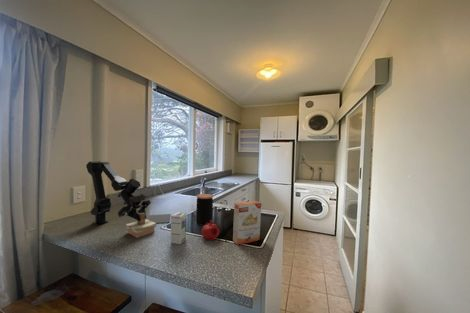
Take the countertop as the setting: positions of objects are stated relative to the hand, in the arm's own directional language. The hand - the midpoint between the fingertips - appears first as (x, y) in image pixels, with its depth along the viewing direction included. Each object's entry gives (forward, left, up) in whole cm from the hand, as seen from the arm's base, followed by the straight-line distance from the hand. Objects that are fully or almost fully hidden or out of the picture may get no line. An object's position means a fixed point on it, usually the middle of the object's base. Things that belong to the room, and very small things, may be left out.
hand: (143, 219), depth 112 cm
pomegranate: (+34, +20, -8) cm, 40 cm away
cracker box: (+52, +29, -8) cm, 60 cm away
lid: (-1, 0, -4) cm, 4 cm away
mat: (-12, +18, -8) cm, 23 cm away
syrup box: (+24, +6, -8) cm, 26 cm away
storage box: (-1, 0, -8) cm, 8 cm away
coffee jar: (+16, +34, -8) cm, 38 cm away
